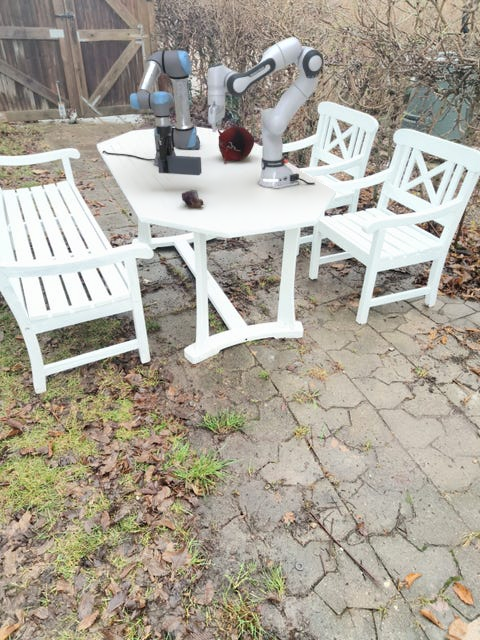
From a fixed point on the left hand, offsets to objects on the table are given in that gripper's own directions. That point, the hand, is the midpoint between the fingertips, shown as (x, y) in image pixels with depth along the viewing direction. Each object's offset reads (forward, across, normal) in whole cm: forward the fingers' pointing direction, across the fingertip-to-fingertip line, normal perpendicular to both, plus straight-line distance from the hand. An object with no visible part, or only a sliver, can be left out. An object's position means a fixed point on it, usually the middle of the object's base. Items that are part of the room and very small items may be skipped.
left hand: (167, 170), depth 245 cm
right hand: (-21, +7, -27) cm, 34 cm away
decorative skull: (+11, +70, -22) cm, 74 cm away
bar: (+1, 0, -7) cm, 7 cm away
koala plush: (+11, +94, +20) cm, 96 cm away
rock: (+11, -22, -20) cm, 31 cm away
